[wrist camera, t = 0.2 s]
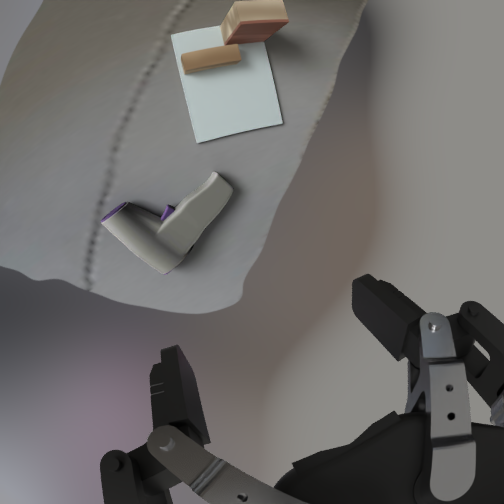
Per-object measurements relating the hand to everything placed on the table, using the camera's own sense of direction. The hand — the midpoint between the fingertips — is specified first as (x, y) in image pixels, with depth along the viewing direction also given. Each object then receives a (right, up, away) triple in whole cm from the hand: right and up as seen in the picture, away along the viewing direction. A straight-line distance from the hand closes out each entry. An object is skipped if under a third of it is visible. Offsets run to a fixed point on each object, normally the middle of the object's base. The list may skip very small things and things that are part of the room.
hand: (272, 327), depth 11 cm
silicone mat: (-4, +26, +19) cm, 33 cm away
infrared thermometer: (-12, +10, +25) cm, 30 cm away
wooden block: (-2, +32, +17) cm, 36 cm away
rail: (-7, +28, +18) cm, 34 cm away
